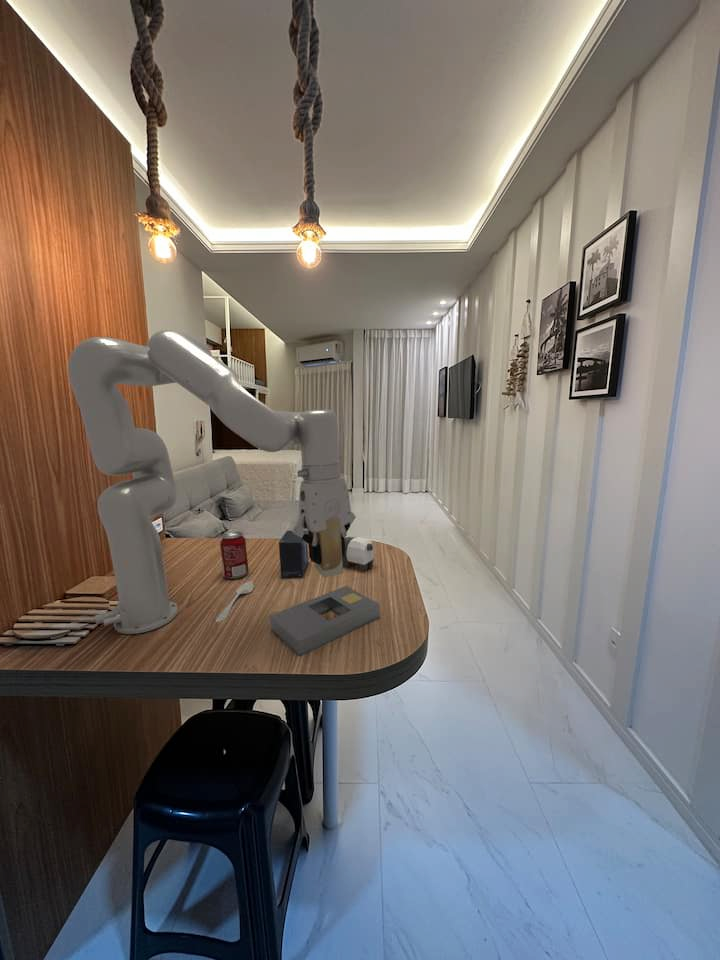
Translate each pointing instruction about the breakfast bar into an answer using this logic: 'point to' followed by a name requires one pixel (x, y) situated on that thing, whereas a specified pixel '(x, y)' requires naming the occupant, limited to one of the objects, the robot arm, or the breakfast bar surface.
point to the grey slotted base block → (323, 619)
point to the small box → (293, 555)
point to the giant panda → (358, 553)
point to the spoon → (248, 586)
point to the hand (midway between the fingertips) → (328, 557)
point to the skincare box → (330, 549)
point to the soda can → (234, 555)
